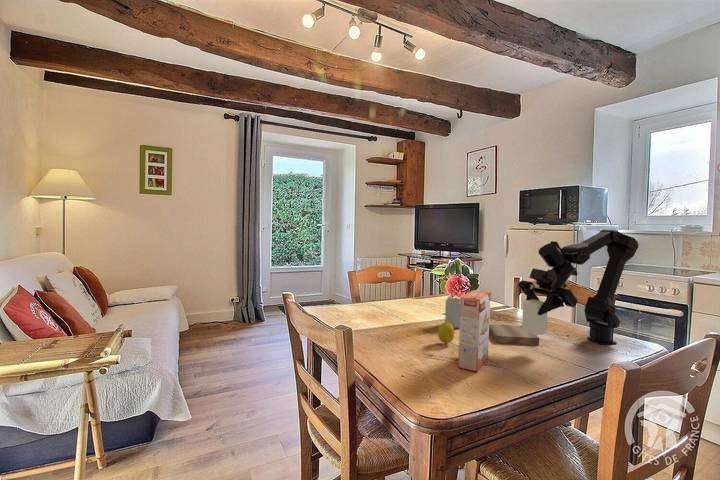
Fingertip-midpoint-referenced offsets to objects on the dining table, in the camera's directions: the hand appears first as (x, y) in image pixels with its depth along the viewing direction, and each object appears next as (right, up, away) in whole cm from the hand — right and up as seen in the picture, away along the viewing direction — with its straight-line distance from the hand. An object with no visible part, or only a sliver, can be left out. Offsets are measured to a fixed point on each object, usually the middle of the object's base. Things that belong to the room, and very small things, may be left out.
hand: (531, 312), depth 113 cm
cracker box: (-21, -14, -7) cm, 26 cm away
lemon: (-25, -13, +9) cm, 30 cm away
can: (-17, -12, +30) cm, 36 cm away
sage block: (+1, -7, +1) cm, 7 cm away
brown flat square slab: (+1, -13, +17) cm, 21 cm away
